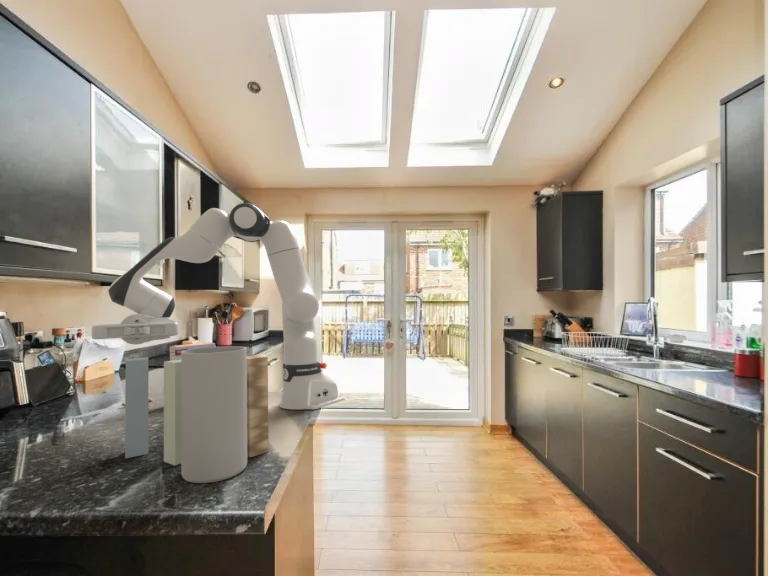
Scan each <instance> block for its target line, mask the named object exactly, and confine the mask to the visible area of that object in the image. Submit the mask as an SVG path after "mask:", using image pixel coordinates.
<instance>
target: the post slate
mask: <svg viewBox="0 0 768 576" xmlns="http://www.w3.org/2000/svg"><path fill="white" fill-rule="evenodd" d="M124 385H125V389H124V390H125V393H124V394H125V398H124V399H125V400H124V401H125V402H124V403H125V408H124V409H125V413H124V417H125V419H124V421H125V423H124V424H125V425H124V426H125V427H124V431H125V432H124V433H125V434H124V435H125V436H124V459H129V458H133V457H134V458H135V457H139V456H144V455H148V454H149V402H148V398H149V357H148V356H147V357H134V358H125V384H124Z"/></svg>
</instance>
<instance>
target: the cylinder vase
mask: <svg viewBox="0 0 768 576" xmlns="http://www.w3.org/2000/svg"><path fill="white" fill-rule="evenodd" d="M247 349H248V348H247V347H246V346H215V347H207V348H197V349H190V350H185V351H182V352H181V464H180V470H181V471H180V472H181V476H182V479H183V480H184V481H186V482H189V483H194V484H212V483H217V482H221V481H224V480H227V479H230V478H233V477H235V476H237V475H239V474H240V473H242V472H243V471H244V470H245V469H246V467H247V465H248V456H247V357H248V355H247V354H248V353H247Z"/></svg>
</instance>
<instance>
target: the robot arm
mask: <svg viewBox="0 0 768 576" xmlns="http://www.w3.org/2000/svg"><path fill="white" fill-rule="evenodd" d="M232 237H233V238H236V239H239V240H242V241H244V242H247V243H255V242H259V241H260V242H262V244H263V247H264V249H265V252H266V255H267V258H268V262H269V265H270V269H271V272H272V275H273V278H274V282H275V285H276V287H277V290H278V293H279V295H280V299H281V301H282V305H281V312H282V316H281V317H282V334H283V335H282V336H283V363H282V379H283V383H282V393H281V399H280V401H279V407H280V408H281V409H285V410H317V409H321V408H324V407H328V406H331V405H334V404H338V403H340V402H343V401H346V400H345V396H344V395H342V394H339V390H338V385H337V383H336V382H335V380H333V379H332V378H330V377H329V376H327V375H326V374H325V373H324V372H322V369H324V370H325V369H327V367H328V364H327V362H318V359H317V358H318V355H317V354H318V353H317V352H318V350H317V335H316V328H315V327H316V326H315V318H316V316H317V314H318V312H319V308H320V304H319V300H318V298H317V294H316V293H315V290H314V287H313V284H312V281H311V279H310V276H309V274H308V272H307V269H306V266H305V263H304V258H303V255H302V252H301V249H300V245H299V243H298V242H299V241H298V239H297V238H296V235H295V232H294V231H293V229H292V226H291V225H290V224H289V222H287V221H285V220H281V219H279V220H278V219H277V220H271V219H270V218H269V217H268V216H267V215H266V213H265V212H263V211H262V210H261V208H259V207H258V206H256V205H254V204H252V203H249V202H244V203H243V202H242V203H238V204H236V205H235V206H233V208H232V209H231V210H230V213H227V212H226V211H225V210H223V209H221V208H217V207H211V208H209V209H207V210H206V211H205V212H203V213H202V214H201V215H200V216H199V217H198V218H197V219H196V220H195V221H194V222H193V224H192V225H191V226H190V227H189V229H188V230H186V232H185V233H184V234H182V235H179V236H177V237H174V236H171V237H167V238H166V239H164V240H163V241H161V242H160V243H159V244H158V245H157V246H156V247H154V248H152V250H150V252H149V253H147V254H146V255H145V256H144V257H143V258H142V259H141V260H139V261H138V262H137V263H135V265H133V267H131V268H130V269H129V270H127V271H126V272H125V273H123V274H122V275H120V276H119V277H117V278H116V279H115V280H113V282H112V283H111V285H110V286H109V288H108V295H109V297H110V298H109V299H111V302H112V303H115V304H117V305H118V306H119V305H120V306H121V307H125V308H127V309H129V310H131V311H133V312H135V313H133V314H130V315H127V316H126V317H124V319H122V321H121V322H120V323H110V324H109V323H106V324H97V325H96V324H94V325H92V327H91V339H92V340H106V339H107V340H108V339H122V340H123V341H124V342H125V343H127V344H130V345H134V346H135V345H142V344H145V343H149V342H151V341H152V342H153V341H159V340H166V339H167V340H168V339H170V338H171V337H174V336H178V334H179V323H178V322H177V321H176V320H173V319H171V316H172V315H173V312H174V310H175V308H176V303H175V302H176V301H175V297H174V296H172V294H171V295H170V293H167V292H166V291H164V290H162V289H160V288H158V287H156V286H155V285H153V284H151V283H149V282H148V281H146V280H144V278H143V277H144V276H146V274H147V273H149V272H150V271H151V270H152V269H154V267H155V266H157V264H159V263H160V262H161V261H163V260H167V259H172V260H178V261H179V260H180V261H184V262H188V263H193V264H203V263H207V262H209V261H211V260H212V259H213V258H214V256H215V255H216V254H217V253H218V252H219V251H220V250H221V248H222V247H223V246H224V244H225V243H226V242H227V241H228V240H229V239H230V238H232Z"/></svg>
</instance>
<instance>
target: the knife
mask: <svg viewBox="0 0 768 576" xmlns="http://www.w3.org/2000/svg"><path fill="white" fill-rule="evenodd" d="M152 401H153V402H154V398H153V397H148V403H153V402H152ZM120 409H125V402H122V403H121V404H118V405H115V406H110V407H109V406H108V407H105V408H101V409H96V410H93V411H88V412H86V413H81V414H80V415H77V416H76V415H75V416H72V417H69V418H64V419H62V421H63V420H71V419H78V418H79V419H80V418H84V417H88V416H93V415H97V414H98V415H99V414H101V413H107V412H111V411H116V410H120Z"/></svg>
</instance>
